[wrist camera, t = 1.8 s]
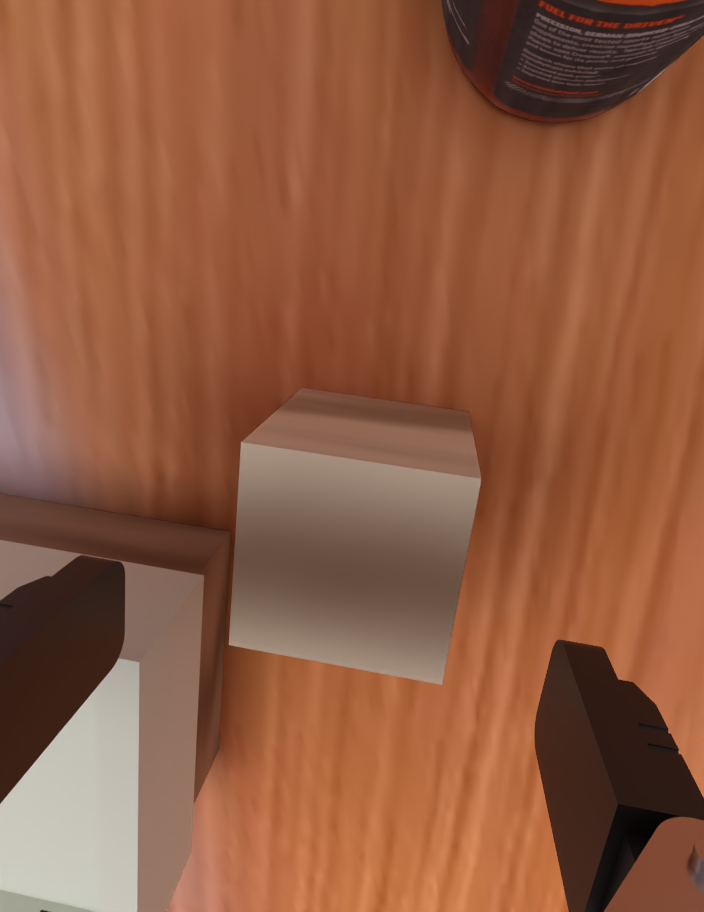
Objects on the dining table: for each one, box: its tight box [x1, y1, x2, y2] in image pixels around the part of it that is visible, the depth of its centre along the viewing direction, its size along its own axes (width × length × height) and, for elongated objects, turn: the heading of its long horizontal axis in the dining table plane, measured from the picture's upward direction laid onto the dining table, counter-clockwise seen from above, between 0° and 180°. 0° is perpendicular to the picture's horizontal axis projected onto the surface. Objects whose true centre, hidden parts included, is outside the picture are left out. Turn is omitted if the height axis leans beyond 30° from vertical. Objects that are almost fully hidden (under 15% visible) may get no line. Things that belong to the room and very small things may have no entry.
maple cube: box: [229, 388, 482, 685], centre depth 16 cm, size 5×5×6 cm
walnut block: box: [0, 494, 231, 805], centre depth 20 cm, size 9×9×4 cm
